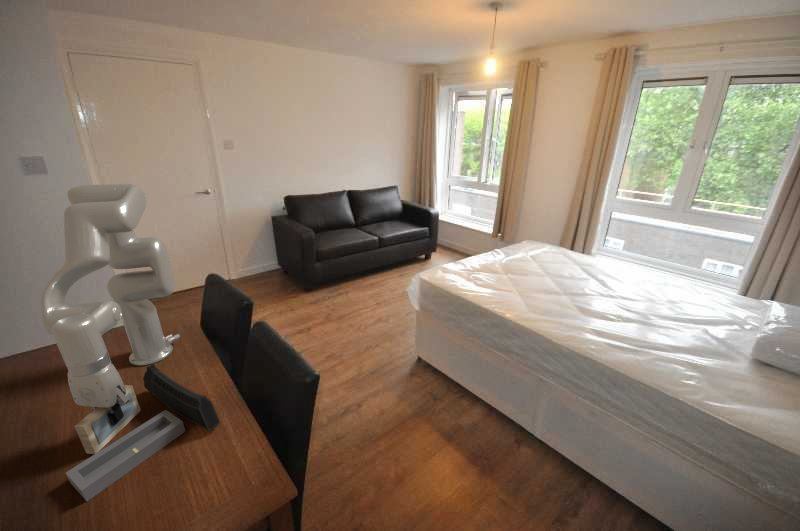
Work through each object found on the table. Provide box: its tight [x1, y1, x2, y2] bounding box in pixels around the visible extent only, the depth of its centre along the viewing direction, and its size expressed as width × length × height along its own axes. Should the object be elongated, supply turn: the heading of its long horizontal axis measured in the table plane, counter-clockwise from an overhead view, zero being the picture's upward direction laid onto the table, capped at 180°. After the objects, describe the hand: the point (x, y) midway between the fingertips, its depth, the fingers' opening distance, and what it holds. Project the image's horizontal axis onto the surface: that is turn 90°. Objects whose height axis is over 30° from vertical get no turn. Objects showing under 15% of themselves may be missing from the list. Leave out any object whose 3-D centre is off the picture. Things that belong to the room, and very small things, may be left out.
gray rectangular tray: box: [65, 409, 186, 502], centre depth 81 cm, size 21×8×4 cm, turn 151°
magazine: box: [142, 363, 221, 432], centre depth 93 cm, size 17×3×30 cm
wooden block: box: [74, 384, 142, 455], centre depth 87 cm, size 14×3×9 cm, turn 176°
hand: (112, 420), depth 87 cm, fingers closed on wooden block, 2 cm apart
